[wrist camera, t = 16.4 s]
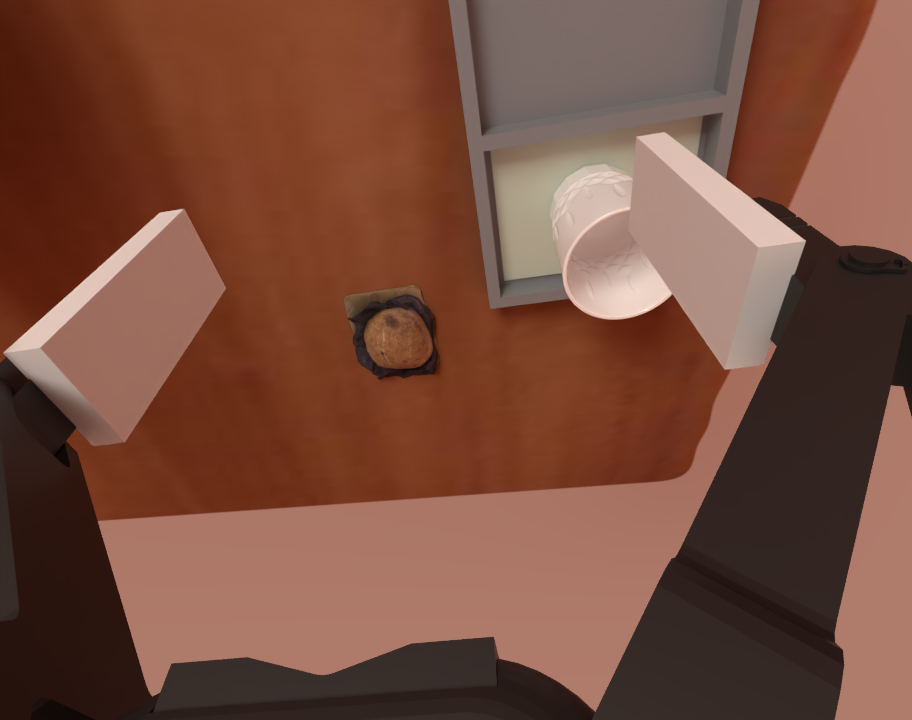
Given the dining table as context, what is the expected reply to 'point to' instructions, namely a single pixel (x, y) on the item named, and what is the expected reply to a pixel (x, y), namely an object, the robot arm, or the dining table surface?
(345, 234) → the dining table surface
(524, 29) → the gray divided tray
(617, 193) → the white cup
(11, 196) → the dining table surface
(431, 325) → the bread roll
